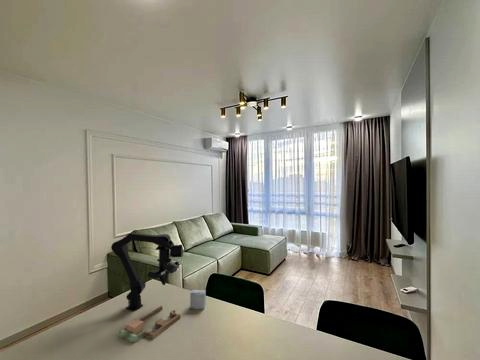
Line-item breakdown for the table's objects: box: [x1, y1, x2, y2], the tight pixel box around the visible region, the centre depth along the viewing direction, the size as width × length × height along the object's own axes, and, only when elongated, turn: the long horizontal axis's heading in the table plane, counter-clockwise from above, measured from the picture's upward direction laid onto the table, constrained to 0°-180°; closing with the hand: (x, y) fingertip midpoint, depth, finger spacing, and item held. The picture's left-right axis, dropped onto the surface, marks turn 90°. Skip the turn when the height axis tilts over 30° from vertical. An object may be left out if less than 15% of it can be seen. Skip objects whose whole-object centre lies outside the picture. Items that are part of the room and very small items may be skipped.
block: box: [126, 318, 145, 335], centre depth 104 cm, size 5×5×5 cm
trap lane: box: [118, 305, 182, 344], centre depth 111 cm, size 16×25×2 cm, turn 154°
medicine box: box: [189, 289, 207, 310], centre depth 128 cm, size 8×4×9 cm, turn 84°
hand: (163, 284), depth 129 cm, fingers closed
